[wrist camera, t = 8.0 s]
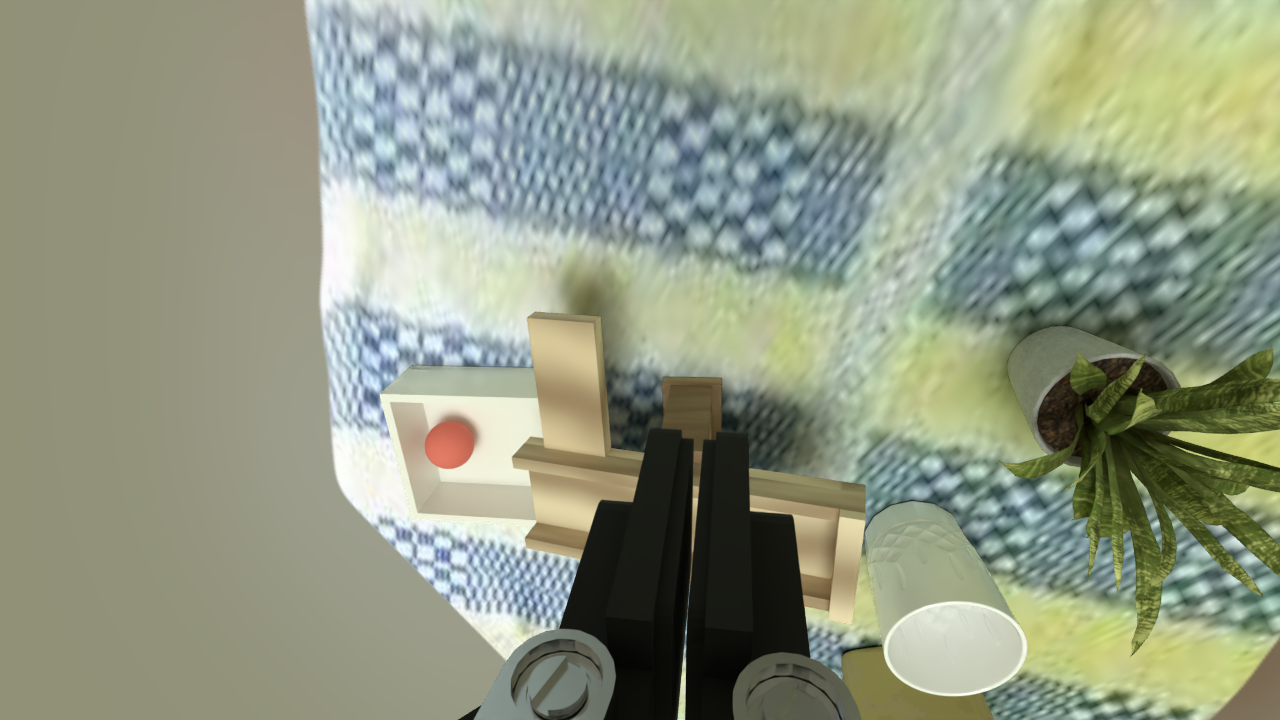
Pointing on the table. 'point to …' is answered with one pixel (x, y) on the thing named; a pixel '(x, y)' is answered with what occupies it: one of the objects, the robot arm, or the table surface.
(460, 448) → the ball
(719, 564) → the robot arm
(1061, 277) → the table surface
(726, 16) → the table surface
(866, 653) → the cheese
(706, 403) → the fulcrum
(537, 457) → the lever
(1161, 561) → the house plant
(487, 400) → the dish
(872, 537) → the white cup
